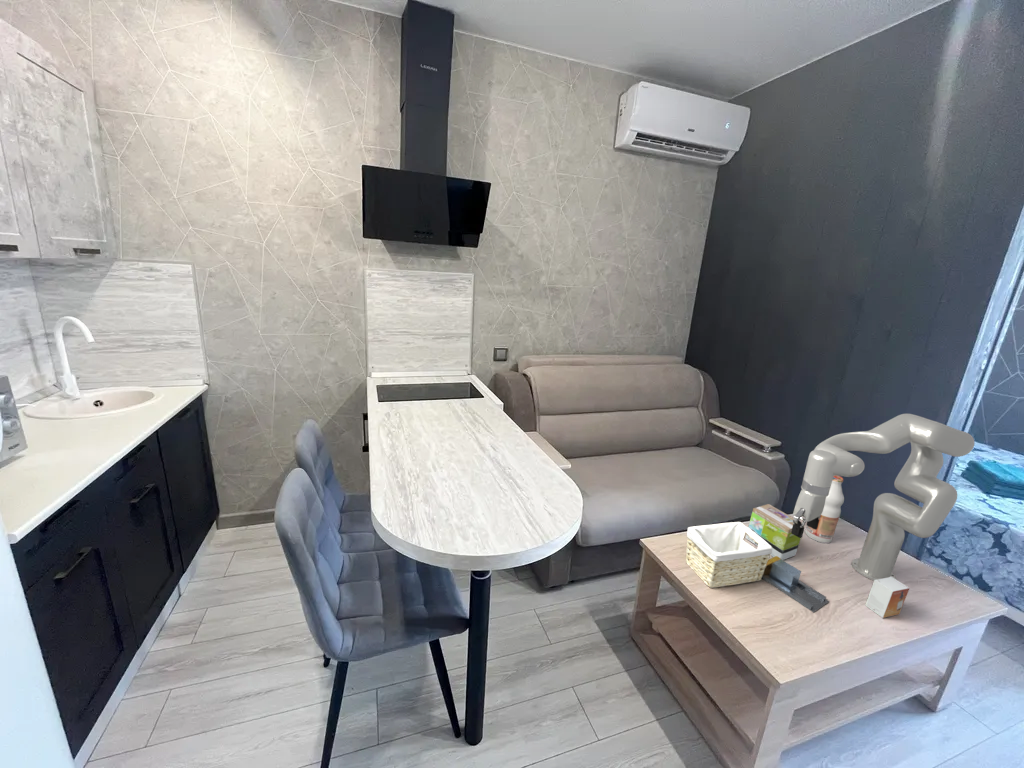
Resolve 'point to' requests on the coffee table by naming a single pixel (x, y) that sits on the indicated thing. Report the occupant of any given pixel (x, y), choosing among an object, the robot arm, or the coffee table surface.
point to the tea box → (774, 530)
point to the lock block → (785, 574)
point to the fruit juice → (828, 514)
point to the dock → (797, 590)
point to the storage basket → (726, 554)
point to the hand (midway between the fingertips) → (804, 531)
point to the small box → (887, 597)
